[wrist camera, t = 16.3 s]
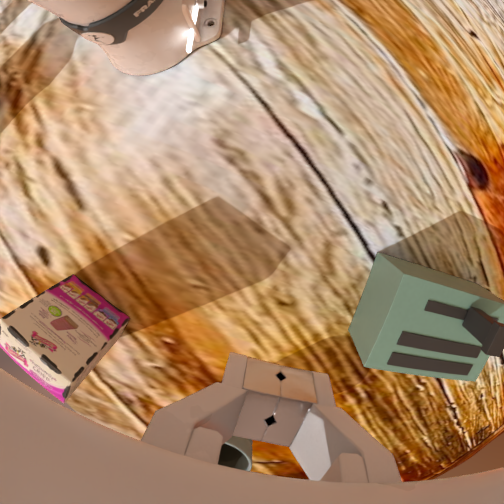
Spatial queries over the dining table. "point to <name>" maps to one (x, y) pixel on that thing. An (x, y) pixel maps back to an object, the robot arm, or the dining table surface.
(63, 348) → the candy bar box
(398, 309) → the toaster
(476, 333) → the slide switch
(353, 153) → the dining table surface
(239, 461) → the gray embossed cup
